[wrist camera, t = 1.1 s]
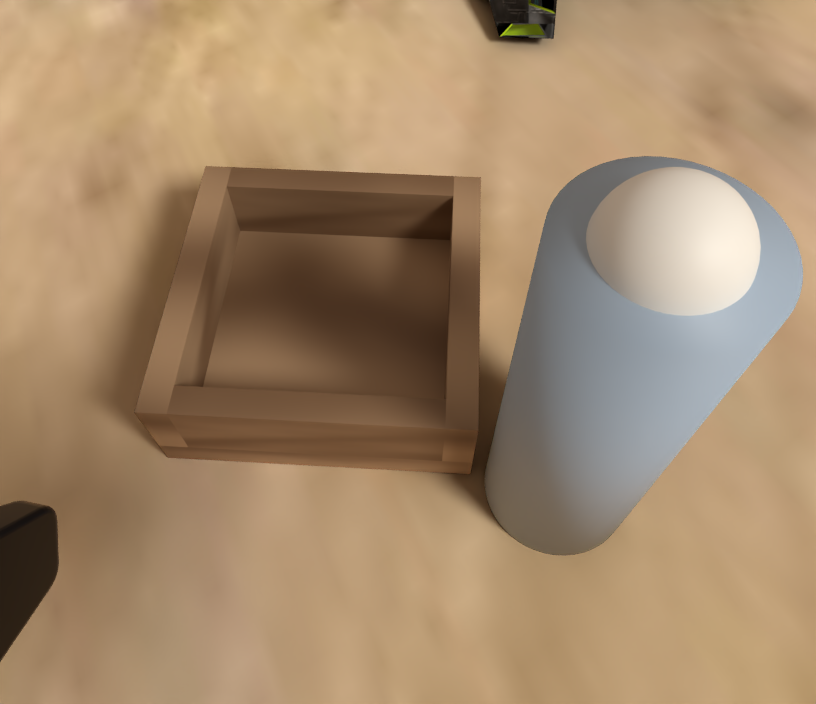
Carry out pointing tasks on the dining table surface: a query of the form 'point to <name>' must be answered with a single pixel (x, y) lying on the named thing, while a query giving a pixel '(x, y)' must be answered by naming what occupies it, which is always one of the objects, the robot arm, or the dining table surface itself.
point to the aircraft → (524, 18)
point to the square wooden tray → (322, 323)
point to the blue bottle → (630, 340)
